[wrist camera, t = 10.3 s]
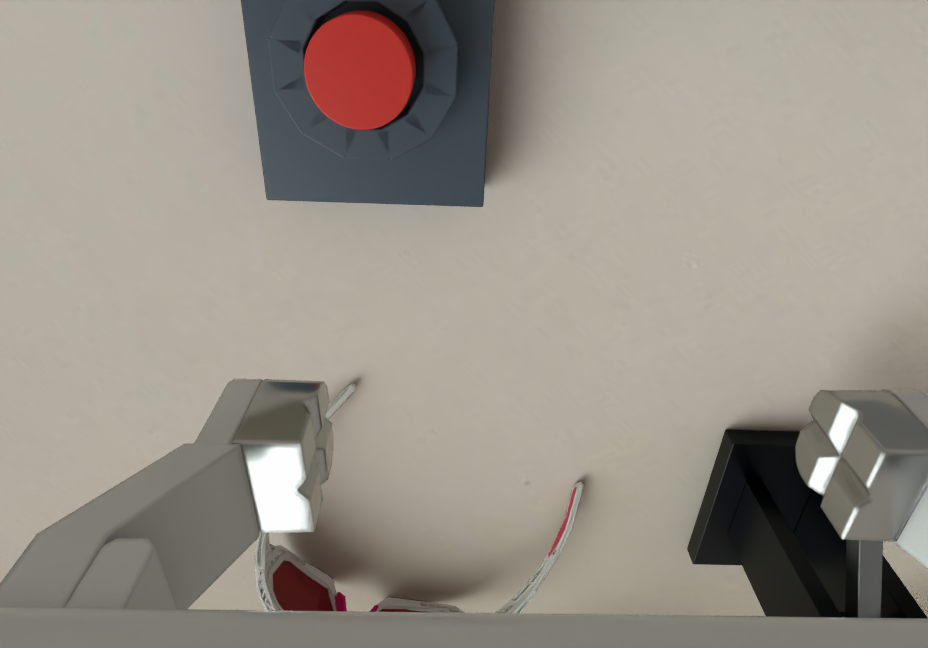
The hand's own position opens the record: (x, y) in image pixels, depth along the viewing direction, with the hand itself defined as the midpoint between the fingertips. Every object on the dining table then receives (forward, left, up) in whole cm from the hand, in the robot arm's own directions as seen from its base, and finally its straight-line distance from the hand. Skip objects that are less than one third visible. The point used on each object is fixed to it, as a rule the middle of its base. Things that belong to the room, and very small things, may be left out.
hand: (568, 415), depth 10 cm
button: (-3, -5, -15) cm, 17 cm away
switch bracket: (+21, +18, -19) cm, 33 cm away
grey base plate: (-3, -5, -19) cm, 20 cm away
